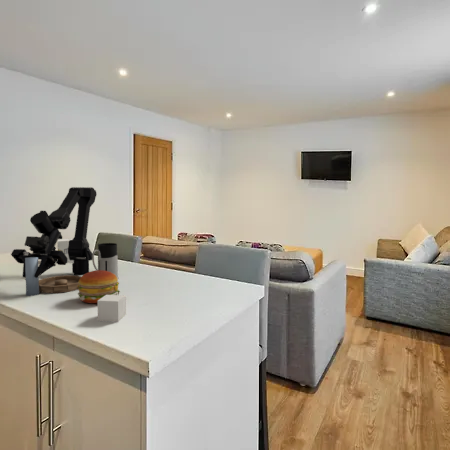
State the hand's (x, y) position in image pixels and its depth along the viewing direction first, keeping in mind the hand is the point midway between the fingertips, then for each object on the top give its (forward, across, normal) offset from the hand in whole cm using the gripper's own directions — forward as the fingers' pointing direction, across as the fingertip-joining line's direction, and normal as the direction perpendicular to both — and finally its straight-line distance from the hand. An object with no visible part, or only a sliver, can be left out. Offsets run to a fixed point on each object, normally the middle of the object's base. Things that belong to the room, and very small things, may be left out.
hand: (29, 276), depth 121 cm
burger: (+6, +26, +4) cm, 27 cm away
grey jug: (-12, +16, +21) cm, 29 cm away
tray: (-4, +4, +13) cm, 14 cm away
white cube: (+17, +37, -7) cm, 42 cm away
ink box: (-38, -21, +48) cm, 65 cm away
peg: (+4, 0, +6) cm, 7 cm away
